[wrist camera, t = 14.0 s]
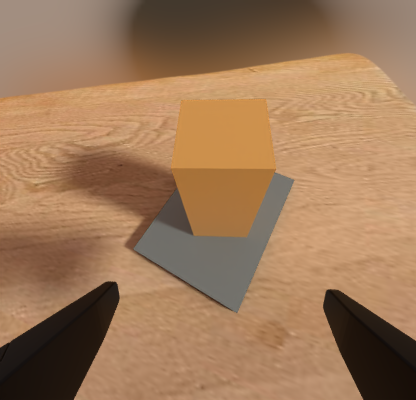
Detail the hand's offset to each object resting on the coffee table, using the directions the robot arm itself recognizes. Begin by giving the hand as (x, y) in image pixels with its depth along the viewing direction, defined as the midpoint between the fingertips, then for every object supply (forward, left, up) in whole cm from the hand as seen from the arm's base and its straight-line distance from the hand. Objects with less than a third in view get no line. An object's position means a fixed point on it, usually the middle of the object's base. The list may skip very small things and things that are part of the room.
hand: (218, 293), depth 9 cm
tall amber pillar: (+8, +4, -11) cm, 14 cm away
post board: (+8, +4, -12) cm, 15 cm away
